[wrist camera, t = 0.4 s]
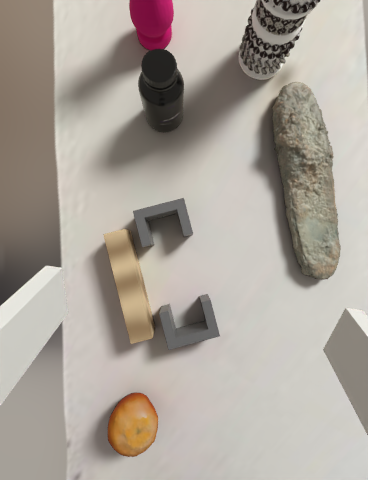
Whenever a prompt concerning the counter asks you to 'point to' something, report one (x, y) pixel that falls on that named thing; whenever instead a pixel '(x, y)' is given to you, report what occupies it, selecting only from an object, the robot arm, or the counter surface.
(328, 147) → the long grey stone
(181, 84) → the supplement bottle
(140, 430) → the fruit
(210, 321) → the end caps
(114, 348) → the counter surface
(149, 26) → the pepper mill
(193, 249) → the counter surface
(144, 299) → the oak slat
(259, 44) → the decorative candle
